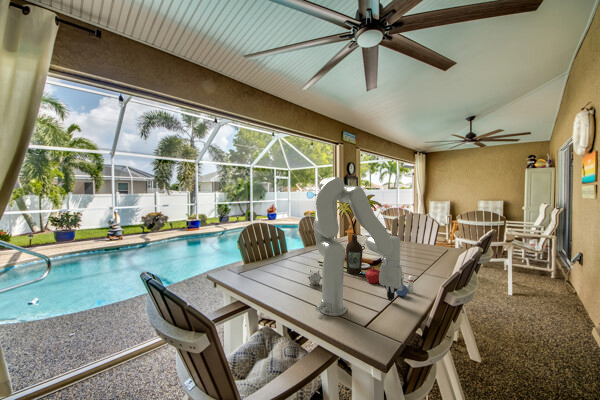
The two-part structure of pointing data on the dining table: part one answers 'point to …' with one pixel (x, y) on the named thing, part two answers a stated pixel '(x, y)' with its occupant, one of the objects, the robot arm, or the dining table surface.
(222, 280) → the dining table surface
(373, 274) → the pomegranate
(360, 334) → the dining table surface
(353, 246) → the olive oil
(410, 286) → the pin
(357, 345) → the dining table surface
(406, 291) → the ball
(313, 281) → the game die
